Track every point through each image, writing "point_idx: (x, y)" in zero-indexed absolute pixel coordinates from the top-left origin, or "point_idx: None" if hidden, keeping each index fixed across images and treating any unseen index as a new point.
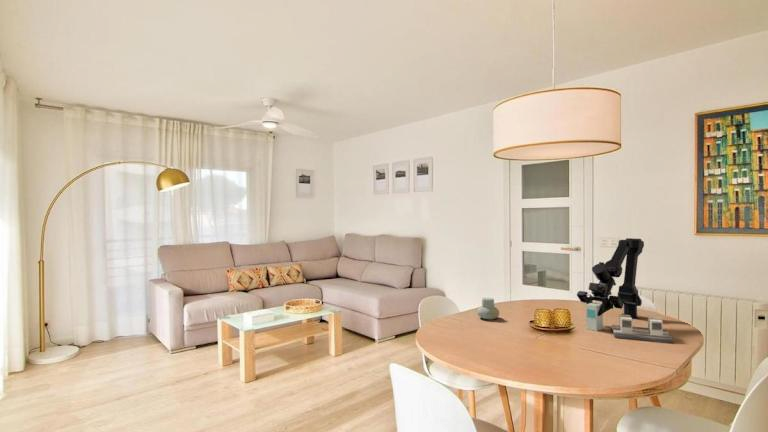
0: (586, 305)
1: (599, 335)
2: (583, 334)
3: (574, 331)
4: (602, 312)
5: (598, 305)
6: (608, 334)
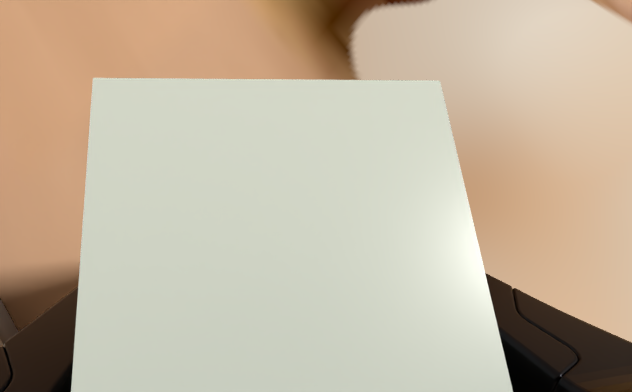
0: (409, 96)
1: None
2: (214, 50)
3: (318, 74)
4: None
5: (80, 257)
6: (39, 231)
